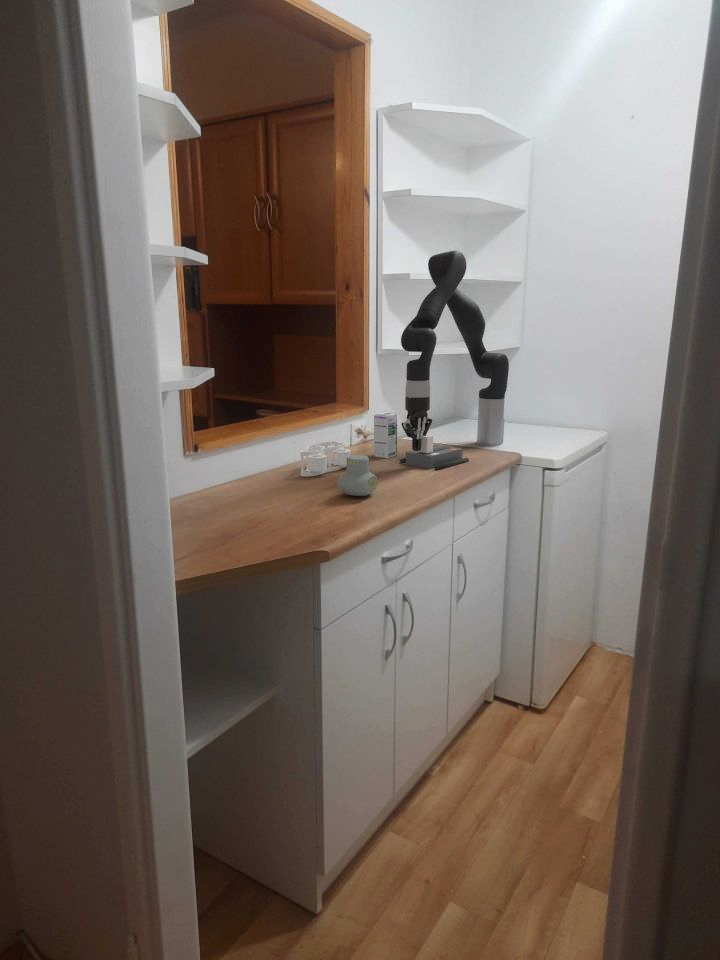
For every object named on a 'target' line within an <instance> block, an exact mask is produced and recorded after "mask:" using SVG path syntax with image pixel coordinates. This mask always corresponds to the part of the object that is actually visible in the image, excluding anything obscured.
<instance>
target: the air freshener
mask: <svg viewBox="0 0 720 960" xmlns="http://www.w3.org/2000/svg"><path fill="white" fill-rule="evenodd" d="M369 466H370V459H369V456H367V455H361V454H356V455H355V454H352V455H351V456H348V457H347V465H346V471H345V472H343V473H342V474H340V476H339V477H338V480H337V487H338V490H340V491H341V492H342V493H344V494H345V495H347V496H352V497H365V496H366V497H367V496H369V495H370V494H372V493H373V492H375V490H376V489H377V486H378V482H379V481H378V478H377V476H376V475H375V474H374V473H372V472H370V467H369Z"/></svg>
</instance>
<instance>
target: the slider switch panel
mask: <svg viewBox="0 0 720 960" xmlns="http://www.w3.org/2000/svg"><path fill="white" fill-rule="evenodd" d="M469 461H470V458H468V457H465V458H464V457H463V458H462V459H459V460H455V461H451V462H448V463H444V464H440V465H436V466H435V468H434V470H436V471H438V470H441V469H445V468H449V467H452V466H457V465H461V464H464V463H468V462H469ZM399 463H400V464H404V463H405V464H406V457H404V458H400V460H399Z"/></svg>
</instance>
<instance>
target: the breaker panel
mask: <svg viewBox="0 0 720 960" xmlns="http://www.w3.org/2000/svg"><path fill="white" fill-rule="evenodd" d="M463 451H464V450H463V448H460V447H454V446H448V445H442V444H435V445H433V452H430V453H423V452H417V451H413V450H409V451H405V458H406V462H405V465H408V466H412V467H418V468H423V469H427V470H428V469H429V470H432V469H435V466H436V465H440V464H444V463H448V462H451V461H455V460H459V459H463V458H464V457H463V454H464V452H463Z"/></svg>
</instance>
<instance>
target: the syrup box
mask: <svg viewBox="0 0 720 960" xmlns="http://www.w3.org/2000/svg"><path fill="white" fill-rule="evenodd" d="M373 456H374V457H376V458H383V459H389V458H393V457H396V456H397V457H398V413H394V412H382V413H377V414H374V415H373Z"/></svg>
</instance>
